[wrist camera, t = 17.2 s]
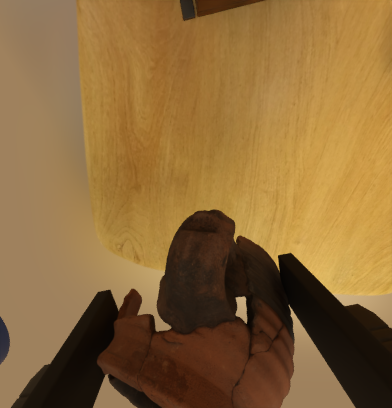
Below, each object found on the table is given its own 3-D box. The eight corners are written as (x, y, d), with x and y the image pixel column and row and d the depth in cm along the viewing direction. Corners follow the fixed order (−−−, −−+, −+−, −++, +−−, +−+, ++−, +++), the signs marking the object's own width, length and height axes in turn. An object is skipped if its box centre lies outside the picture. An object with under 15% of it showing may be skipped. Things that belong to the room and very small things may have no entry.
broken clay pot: (286, 322, 14) (278, 513, 8) (177, 286, 18) (114, 397, 12) (316, 173, 8) (381, 472, 2) (144, 167, 12) (-19, 264, 6)
